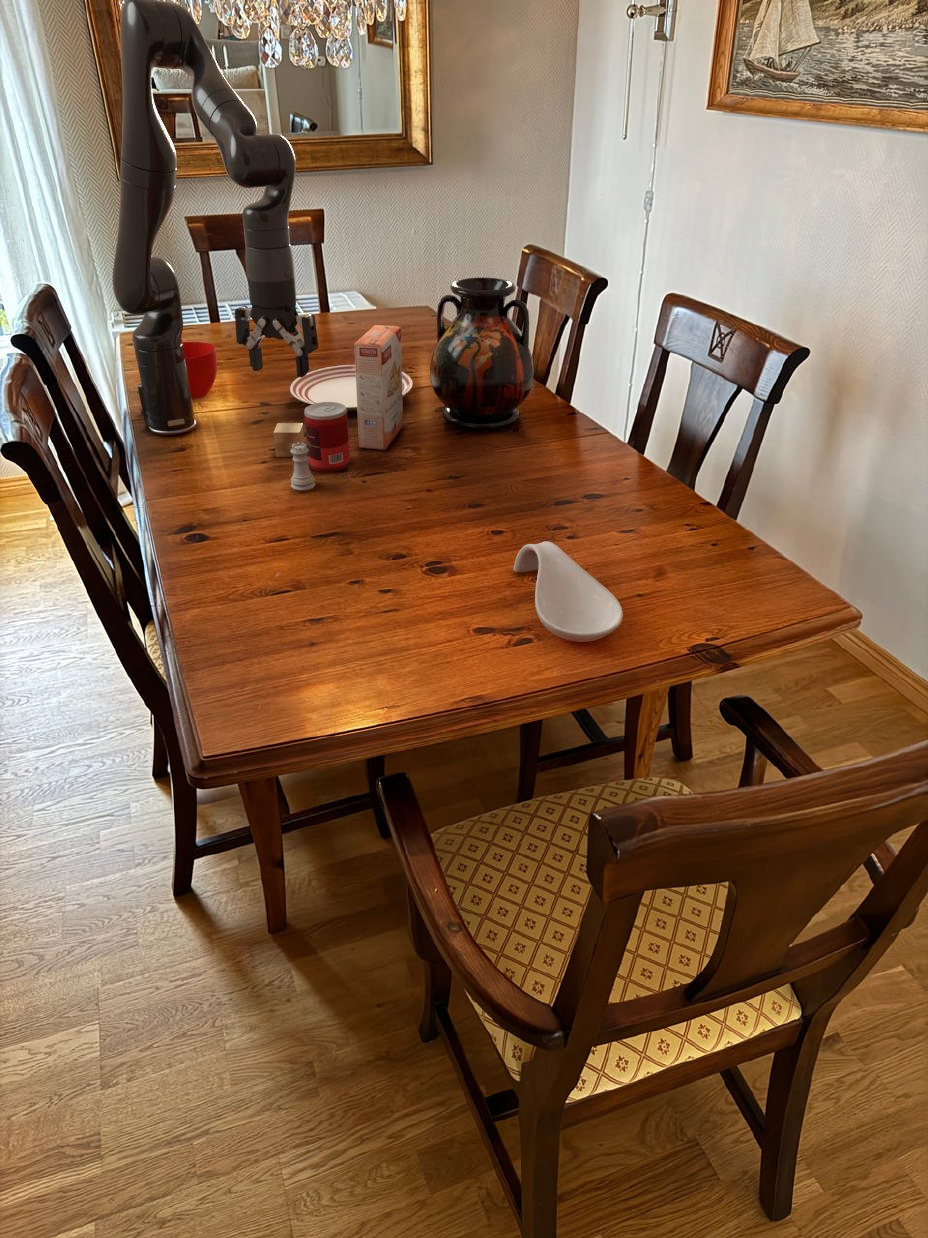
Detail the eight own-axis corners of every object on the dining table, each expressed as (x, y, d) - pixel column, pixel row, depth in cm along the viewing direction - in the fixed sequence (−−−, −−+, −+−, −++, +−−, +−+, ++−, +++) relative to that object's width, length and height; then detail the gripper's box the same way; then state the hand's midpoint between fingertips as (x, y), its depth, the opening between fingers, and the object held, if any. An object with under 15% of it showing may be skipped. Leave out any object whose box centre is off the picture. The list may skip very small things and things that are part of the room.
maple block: (276, 456, 174) (273, 432, 172) (280, 446, 178) (277, 422, 176) (301, 456, 174) (299, 432, 172) (305, 446, 179) (302, 422, 176)
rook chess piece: (291, 482, 164) (287, 440, 160) (316, 481, 165) (312, 440, 160) (290, 492, 161) (285, 450, 156) (315, 491, 161) (311, 449, 157)
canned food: (357, 459, 173) (353, 404, 167) (339, 475, 167) (334, 418, 161) (321, 453, 175) (316, 399, 169) (302, 469, 169) (296, 413, 163)
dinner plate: (384, 425, 189) (383, 410, 187) (269, 410, 196) (267, 395, 194) (430, 385, 210) (430, 371, 209) (324, 373, 218) (323, 359, 216)
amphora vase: (417, 433, 185) (413, 292, 170) (447, 399, 202) (446, 268, 187) (519, 444, 180) (525, 300, 165) (540, 408, 198) (547, 275, 182)
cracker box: (387, 451, 177) (382, 345, 165) (358, 449, 178) (351, 342, 166) (405, 426, 188) (402, 325, 177) (377, 424, 189) (372, 323, 178)
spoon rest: (636, 644, 121) (642, 599, 117) (557, 662, 117) (560, 616, 113) (559, 563, 139) (562, 522, 135) (489, 576, 136) (490, 534, 132)
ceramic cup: (237, 380, 213) (231, 338, 207) (208, 404, 199) (201, 359, 193) (186, 377, 214) (179, 335, 209) (153, 401, 200) (145, 356, 195)
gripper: (320, 273, 146) (327, 371, 155) (244, 265, 150) (254, 361, 159) (298, 283, 140) (306, 385, 149) (219, 274, 144) (232, 374, 153)
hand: (279, 372), depth 154 cm, fingers open, 8 cm apart
